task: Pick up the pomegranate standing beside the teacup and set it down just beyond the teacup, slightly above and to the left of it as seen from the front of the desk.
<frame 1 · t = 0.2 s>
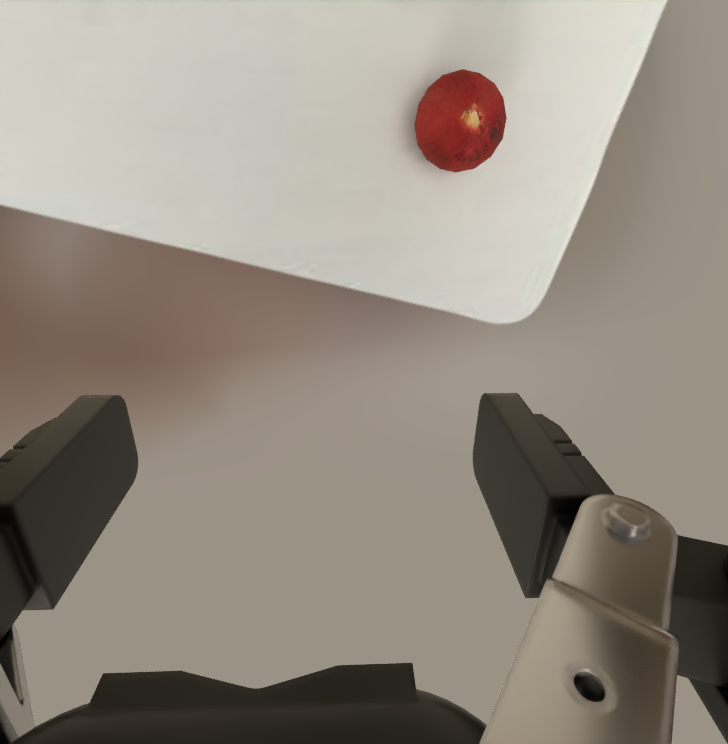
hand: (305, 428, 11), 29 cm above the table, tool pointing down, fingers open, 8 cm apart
pomegranate: (447, 126, 34), on the table
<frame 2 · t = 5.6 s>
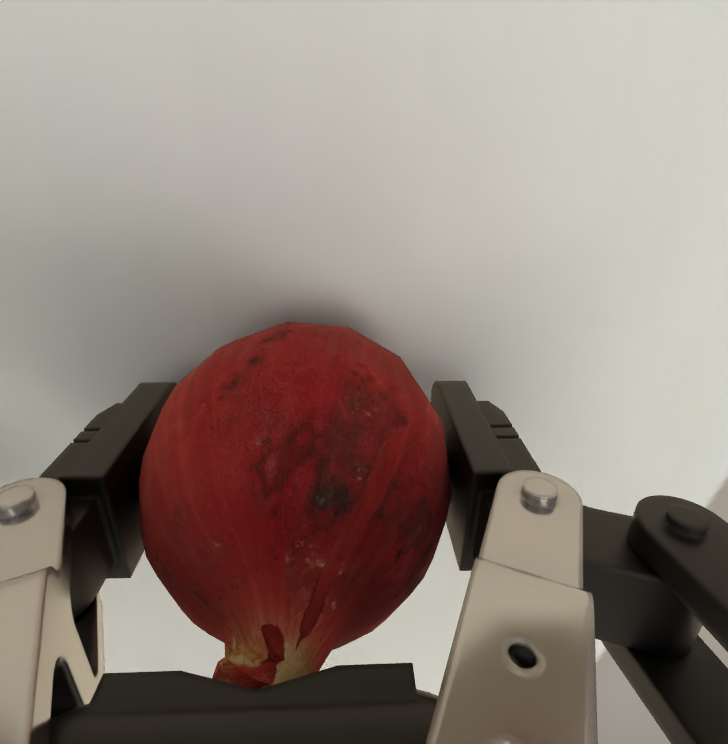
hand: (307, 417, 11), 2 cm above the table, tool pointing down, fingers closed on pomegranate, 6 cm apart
pomegranate: (313, 383, 13), on the table, touching gripper
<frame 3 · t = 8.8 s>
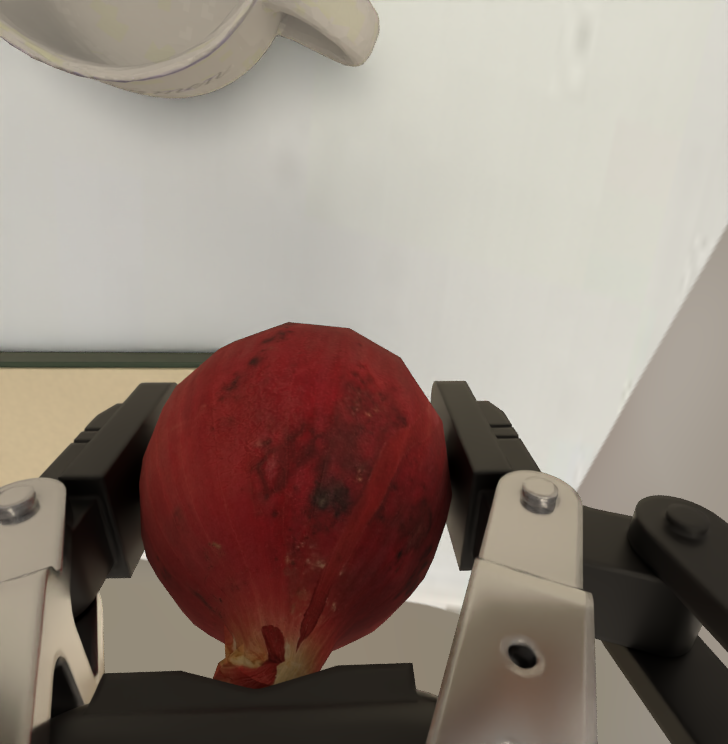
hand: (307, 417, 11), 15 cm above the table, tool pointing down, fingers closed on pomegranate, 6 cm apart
pomegranate: (313, 384, 13), point 13 cm above the table, touching gripper
notebook: (121, 435, 28), on the table
when the fingers open (2 cm above the table, at t = 12.3 s): pomegranate stays where it is, on the table.
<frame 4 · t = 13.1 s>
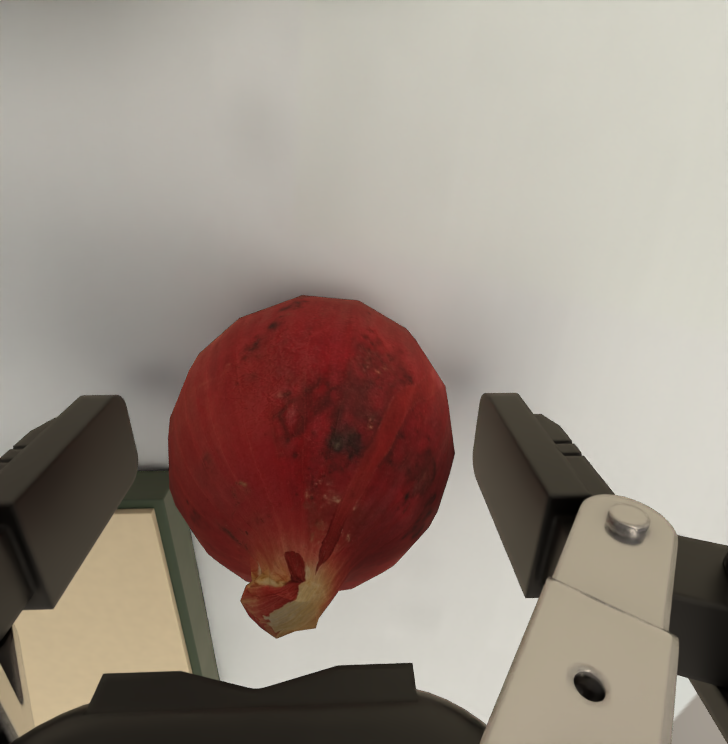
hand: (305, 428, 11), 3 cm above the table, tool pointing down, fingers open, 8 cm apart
pomegranate: (323, 361, 14), on the table
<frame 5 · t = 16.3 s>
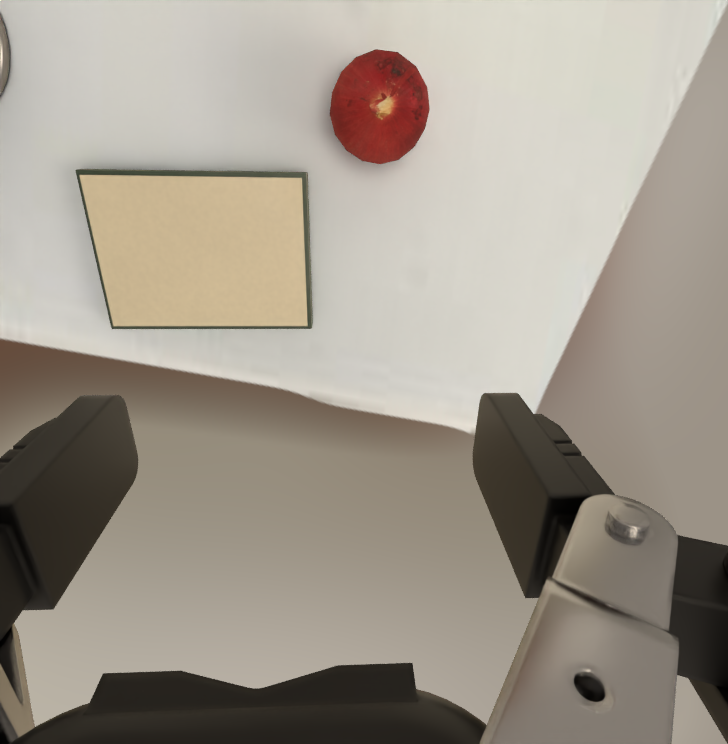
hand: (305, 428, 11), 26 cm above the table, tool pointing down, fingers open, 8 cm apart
pomegranate: (375, 114, 31), on the table
notebook: (208, 251, 34), on the table
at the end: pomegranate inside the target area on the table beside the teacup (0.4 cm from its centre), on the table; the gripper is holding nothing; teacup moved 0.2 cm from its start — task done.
